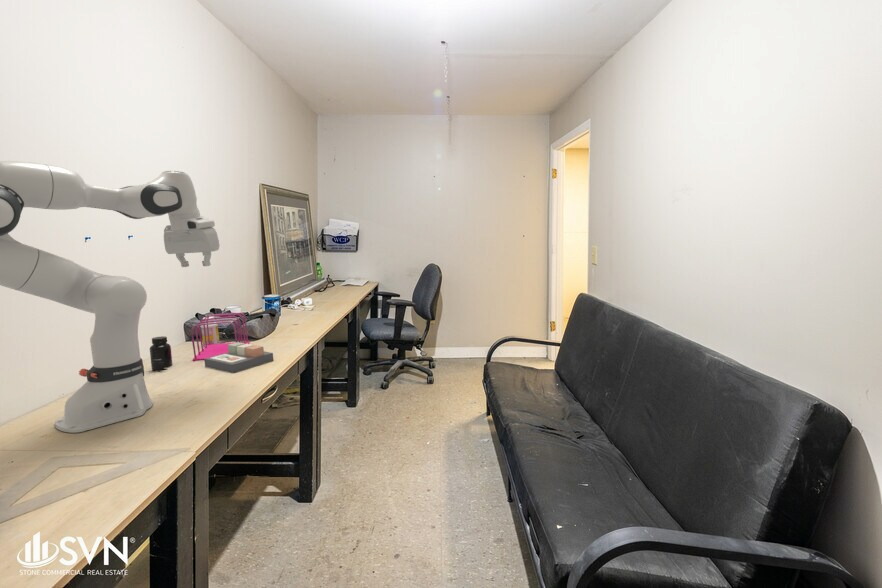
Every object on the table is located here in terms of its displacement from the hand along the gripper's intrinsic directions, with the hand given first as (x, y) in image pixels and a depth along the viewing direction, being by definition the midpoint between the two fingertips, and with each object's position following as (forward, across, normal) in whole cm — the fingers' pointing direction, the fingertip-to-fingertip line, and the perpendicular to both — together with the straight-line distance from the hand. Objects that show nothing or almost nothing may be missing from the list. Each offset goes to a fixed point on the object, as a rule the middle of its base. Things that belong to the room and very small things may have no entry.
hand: (196, 266), depth 151 cm
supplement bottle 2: (+42, -44, +36) cm, 71 cm away
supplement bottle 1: (+39, -32, +3) cm, 51 cm away
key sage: (+38, -11, +18) cm, 44 cm away
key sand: (+38, -5, +17) cm, 42 cm away
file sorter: (+42, -27, +27) cm, 57 cm away
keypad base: (+41, -6, +14) cm, 44 cm away
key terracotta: (+38, 0, +16) cm, 41 cm away
